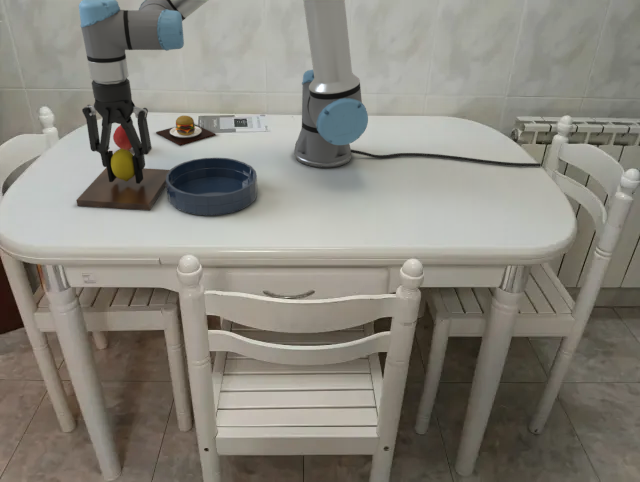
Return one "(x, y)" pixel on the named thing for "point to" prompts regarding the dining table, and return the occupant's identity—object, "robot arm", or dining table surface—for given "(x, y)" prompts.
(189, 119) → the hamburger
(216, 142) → the dining table surface
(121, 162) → the lemon
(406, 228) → the dining table surface
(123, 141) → the onion
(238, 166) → the bowl
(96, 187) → the board
